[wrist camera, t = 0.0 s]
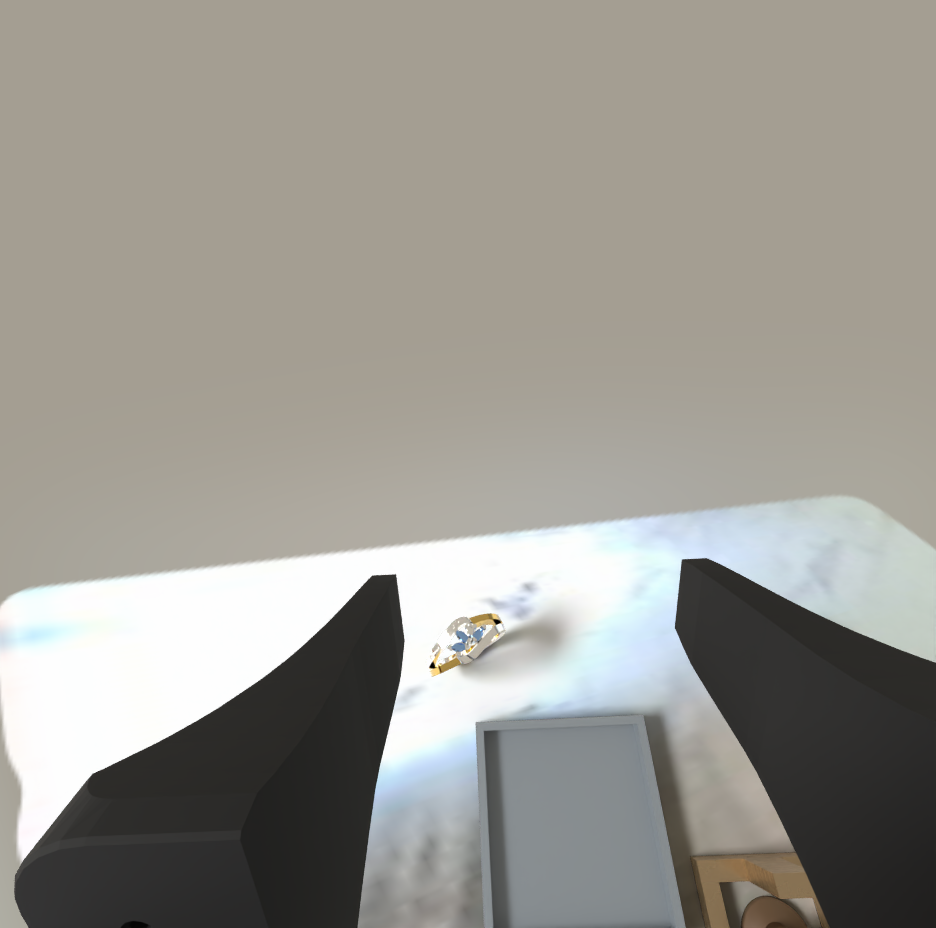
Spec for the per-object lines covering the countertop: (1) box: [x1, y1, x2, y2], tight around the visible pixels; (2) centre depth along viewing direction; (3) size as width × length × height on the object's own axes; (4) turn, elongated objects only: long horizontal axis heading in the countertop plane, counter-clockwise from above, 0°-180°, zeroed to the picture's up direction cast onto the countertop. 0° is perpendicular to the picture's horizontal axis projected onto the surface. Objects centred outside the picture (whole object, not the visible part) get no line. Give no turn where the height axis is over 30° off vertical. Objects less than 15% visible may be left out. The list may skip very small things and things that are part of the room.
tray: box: [476, 715, 686, 928], centre depth 35 cm, size 13×13×2 cm
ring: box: [426, 614, 506, 677], centre depth 38 cm, size 7×3×8 cm, turn 116°
